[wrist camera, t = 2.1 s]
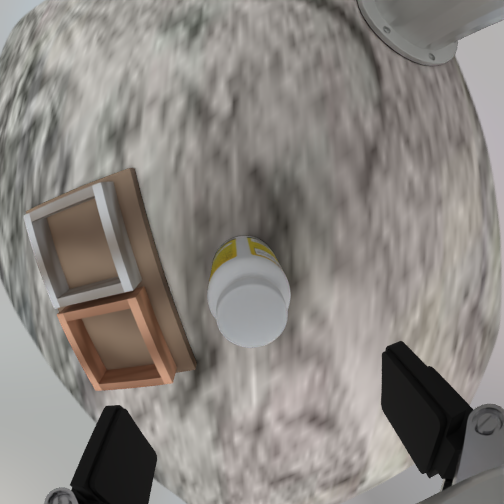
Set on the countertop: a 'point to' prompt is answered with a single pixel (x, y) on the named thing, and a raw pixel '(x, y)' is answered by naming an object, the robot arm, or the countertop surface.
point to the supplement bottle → (248, 292)
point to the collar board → (109, 284)
